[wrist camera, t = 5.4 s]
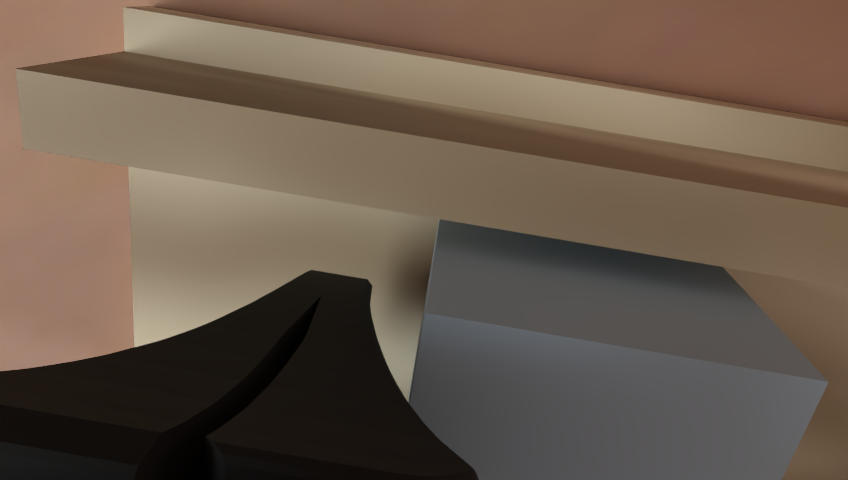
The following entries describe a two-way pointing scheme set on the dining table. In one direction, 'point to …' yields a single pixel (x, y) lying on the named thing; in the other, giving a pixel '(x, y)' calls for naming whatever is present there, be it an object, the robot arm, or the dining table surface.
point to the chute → (439, 179)
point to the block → (602, 364)
